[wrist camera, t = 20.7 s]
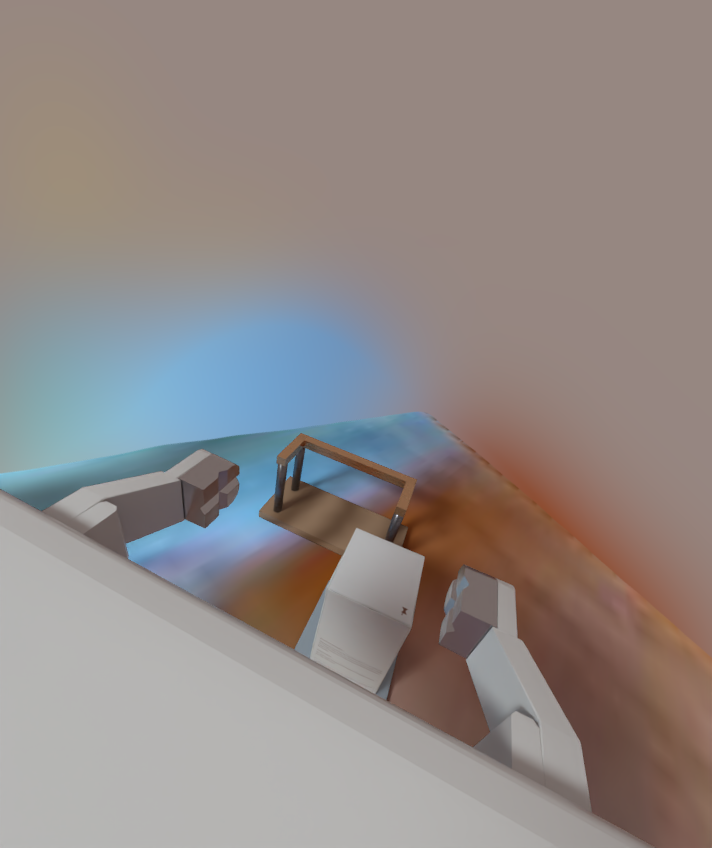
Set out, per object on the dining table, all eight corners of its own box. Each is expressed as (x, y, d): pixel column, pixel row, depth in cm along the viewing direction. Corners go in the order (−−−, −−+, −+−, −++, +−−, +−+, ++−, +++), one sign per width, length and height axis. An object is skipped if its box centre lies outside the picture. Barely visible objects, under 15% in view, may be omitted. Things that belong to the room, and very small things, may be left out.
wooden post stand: (271, 510, 48) (277, 455, 43) (293, 484, 53) (300, 433, 48) (385, 562, 45) (406, 510, 40) (396, 530, 50) (417, 479, 45)
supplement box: (393, 625, 39) (428, 556, 32) (374, 698, 32) (413, 630, 26) (334, 597, 40) (356, 524, 33) (305, 661, 34) (325, 588, 27)
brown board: (258, 516, 48) (259, 510, 48) (289, 481, 55) (290, 476, 55) (391, 578, 44) (393, 573, 44) (405, 532, 51) (408, 527, 51)
